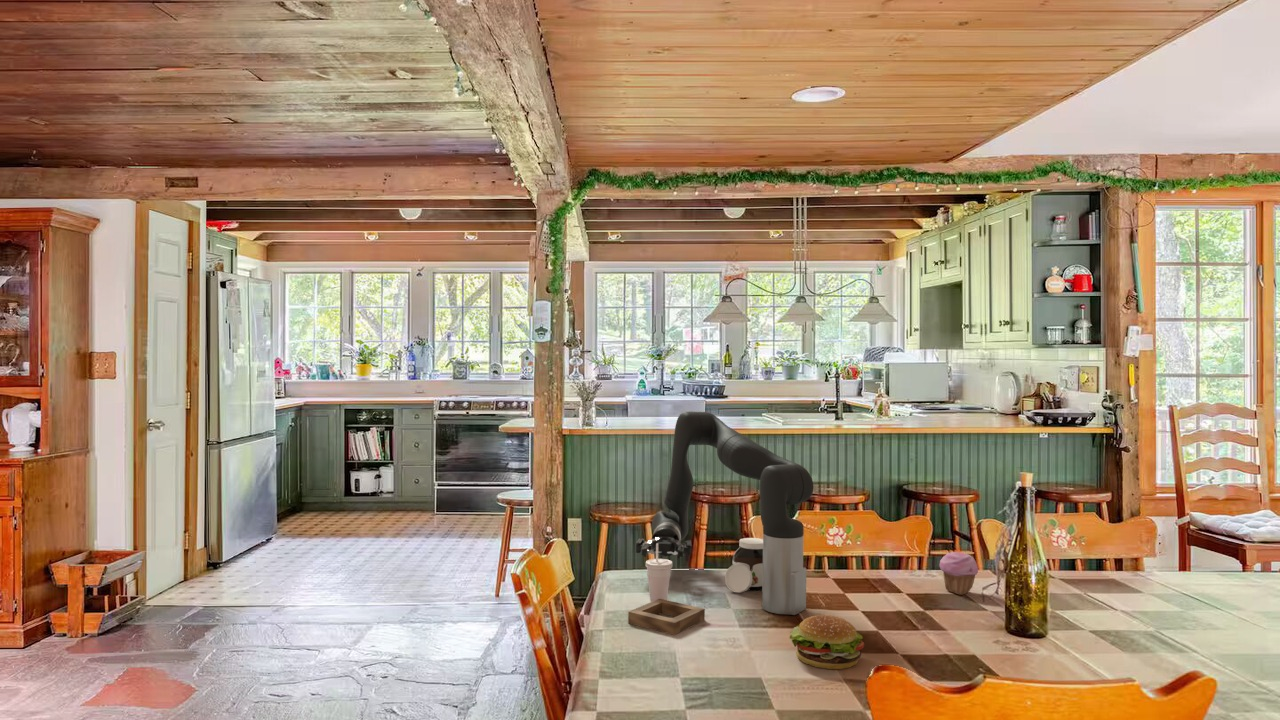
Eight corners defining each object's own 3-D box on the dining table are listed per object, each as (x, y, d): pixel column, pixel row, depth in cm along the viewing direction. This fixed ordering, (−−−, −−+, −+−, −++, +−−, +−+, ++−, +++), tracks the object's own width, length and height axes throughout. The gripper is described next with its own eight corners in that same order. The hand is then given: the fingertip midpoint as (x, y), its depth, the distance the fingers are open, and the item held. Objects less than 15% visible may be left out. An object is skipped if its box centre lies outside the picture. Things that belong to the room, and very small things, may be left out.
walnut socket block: (704, 620, 177) (704, 608, 177) (674, 634, 167) (674, 622, 167) (659, 609, 184) (659, 598, 184) (628, 623, 174) (628, 611, 174)
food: (808, 640, 165) (808, 602, 165) (873, 657, 156) (874, 616, 156) (774, 659, 154) (775, 618, 154) (842, 678, 145) (843, 634, 145)
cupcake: (932, 589, 203) (932, 549, 203) (957, 585, 207) (958, 546, 207) (959, 599, 195) (960, 558, 195) (985, 595, 199) (986, 554, 199)
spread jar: (771, 583, 207) (772, 538, 207) (774, 596, 195) (775, 548, 195) (724, 581, 208) (725, 536, 208) (724, 594, 197) (725, 546, 197)
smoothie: (640, 600, 190) (641, 541, 190) (664, 597, 193) (665, 539, 193) (652, 608, 184) (653, 547, 184) (677, 605, 187) (677, 545, 187)
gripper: (640, 523, 217) (633, 537, 201) (693, 525, 215) (691, 539, 199) (639, 551, 217) (633, 567, 201) (692, 553, 215) (690, 570, 199)
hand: (662, 553), depth 200 cm, fingers open, 8 cm apart
